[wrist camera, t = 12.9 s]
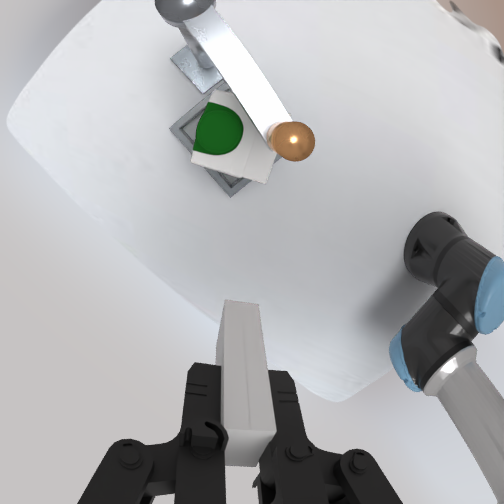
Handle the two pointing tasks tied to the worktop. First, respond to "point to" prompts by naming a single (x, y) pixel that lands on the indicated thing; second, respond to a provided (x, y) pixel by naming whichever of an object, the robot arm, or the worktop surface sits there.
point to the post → (196, 64)
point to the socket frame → (189, 144)
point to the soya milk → (231, 141)
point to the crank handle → (240, 76)
